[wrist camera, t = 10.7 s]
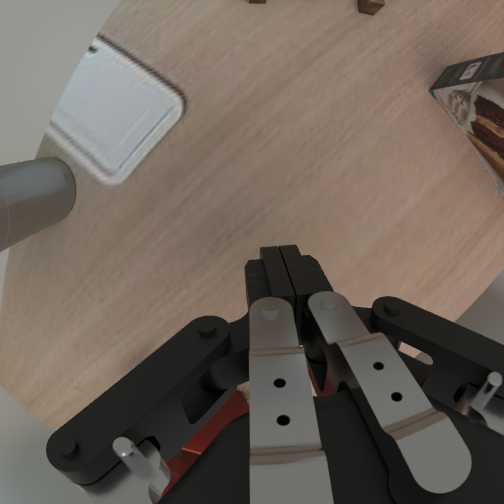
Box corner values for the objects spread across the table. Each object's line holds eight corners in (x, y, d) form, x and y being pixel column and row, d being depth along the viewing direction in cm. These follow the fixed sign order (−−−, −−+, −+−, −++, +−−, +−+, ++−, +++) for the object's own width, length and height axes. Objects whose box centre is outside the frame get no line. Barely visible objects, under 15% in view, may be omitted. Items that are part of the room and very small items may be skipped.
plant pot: (271, 385, 47) (278, 471, 31) (226, 443, 53) (222, 514, 37) (158, 344, 44) (126, 428, 28) (134, 412, 50) (110, 482, 34)
